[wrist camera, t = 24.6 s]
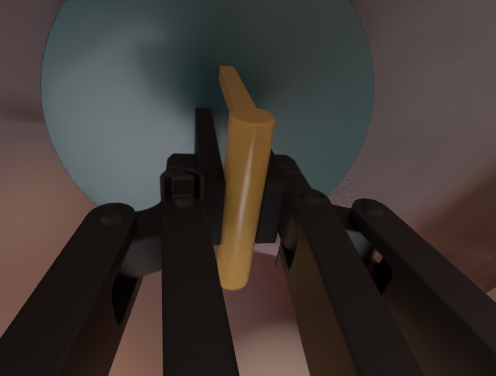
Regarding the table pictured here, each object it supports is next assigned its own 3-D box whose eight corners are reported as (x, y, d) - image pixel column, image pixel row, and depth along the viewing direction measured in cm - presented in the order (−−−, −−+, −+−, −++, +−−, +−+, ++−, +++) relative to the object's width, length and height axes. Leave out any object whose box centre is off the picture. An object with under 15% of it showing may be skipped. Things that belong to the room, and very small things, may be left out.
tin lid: (84, 239, 20) (32, 376, 13) (-6, -112, 10) (-351, -274, 4) (322, 231, 23) (379, 336, 16) (413, -40, 14) (630, -56, 7)
